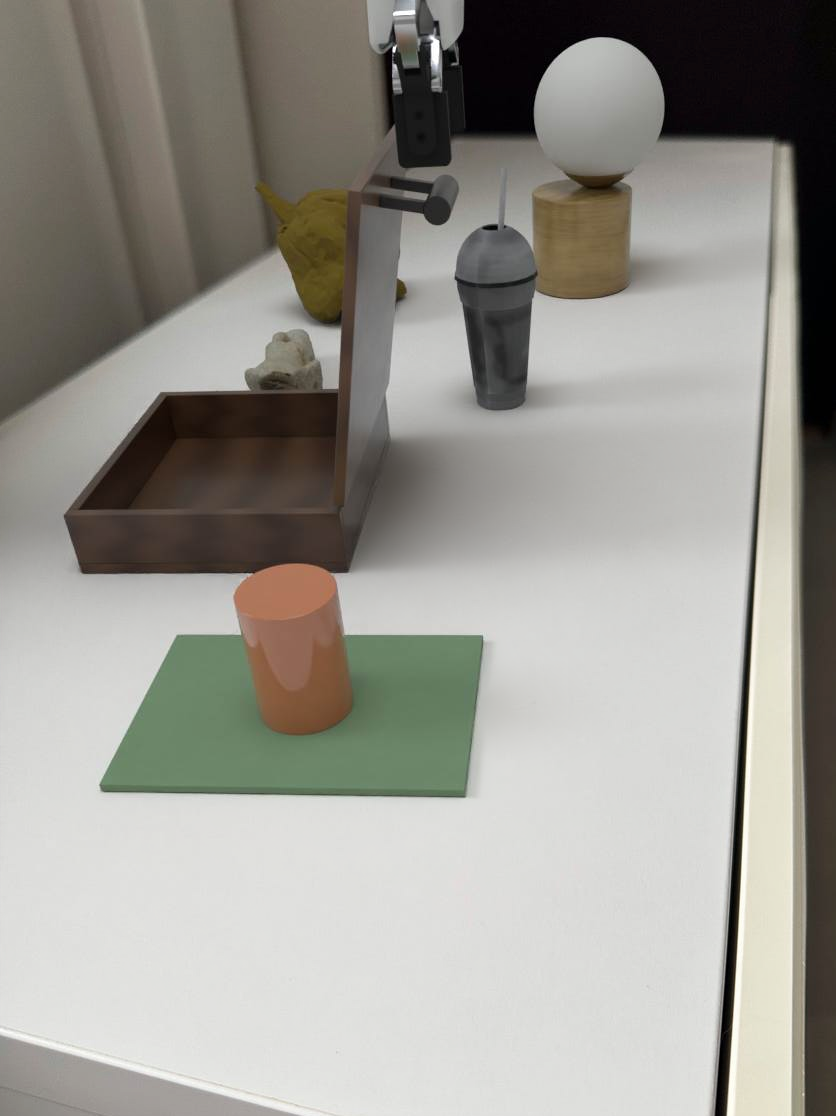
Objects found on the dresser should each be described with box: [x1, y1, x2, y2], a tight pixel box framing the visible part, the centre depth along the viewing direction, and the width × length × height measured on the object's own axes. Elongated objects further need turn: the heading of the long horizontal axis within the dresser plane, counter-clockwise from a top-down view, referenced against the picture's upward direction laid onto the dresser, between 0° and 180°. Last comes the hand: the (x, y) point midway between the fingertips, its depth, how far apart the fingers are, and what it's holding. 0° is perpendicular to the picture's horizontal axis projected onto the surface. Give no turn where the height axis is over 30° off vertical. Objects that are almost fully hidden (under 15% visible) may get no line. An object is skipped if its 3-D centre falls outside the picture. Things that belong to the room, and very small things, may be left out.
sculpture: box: [244, 328, 324, 390], centre depth 101 cm, size 7×5×15 cm
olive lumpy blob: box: [254, 180, 408, 323], centre depth 117 cm, size 14×14×14 cm
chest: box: [63, 388, 391, 574], centre depth 83 cm, size 20×22×5 cm
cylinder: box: [233, 564, 354, 735], centre depth 60 cm, size 6×6×8 cm
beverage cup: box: [454, 166, 538, 411], centre depth 92 cm, size 7×7×20 cm
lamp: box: [531, 36, 665, 299], centre depth 118 cm, size 15×14×25 cm
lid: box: [333, 123, 460, 507], centre depth 74 cm, size 20×22×5 cm
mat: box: [99, 634, 484, 797], centre depth 62 cm, size 20×14×1 cm
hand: (434, 148), depth 68 cm, fingers open, 9 cm apart
